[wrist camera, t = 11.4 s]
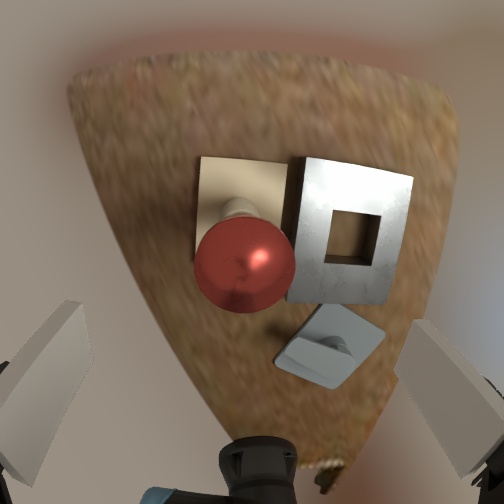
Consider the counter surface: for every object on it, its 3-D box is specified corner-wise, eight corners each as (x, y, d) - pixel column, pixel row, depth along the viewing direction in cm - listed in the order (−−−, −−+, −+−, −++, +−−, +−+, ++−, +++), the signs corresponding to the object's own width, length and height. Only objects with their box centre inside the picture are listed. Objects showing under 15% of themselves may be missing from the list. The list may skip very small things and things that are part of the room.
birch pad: (273, 267, 35) (274, 271, 34) (196, 261, 34) (195, 265, 33) (285, 163, 31) (287, 164, 30) (202, 156, 31) (201, 156, 29)
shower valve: (323, 305, 32) (401, 351, 35) (311, 284, 37) (385, 330, 40) (258, 379, 34) (342, 410, 38) (255, 353, 40) (332, 386, 43)
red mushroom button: (264, 244, 33) (287, 315, 19) (209, 240, 32) (193, 309, 18) (270, 190, 31) (302, 223, 17) (213, 185, 30) (196, 214, 16)
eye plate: (375, 294, 37) (385, 304, 35) (282, 290, 36) (286, 302, 33) (400, 174, 32) (413, 177, 30) (300, 156, 31) (306, 157, 28)
